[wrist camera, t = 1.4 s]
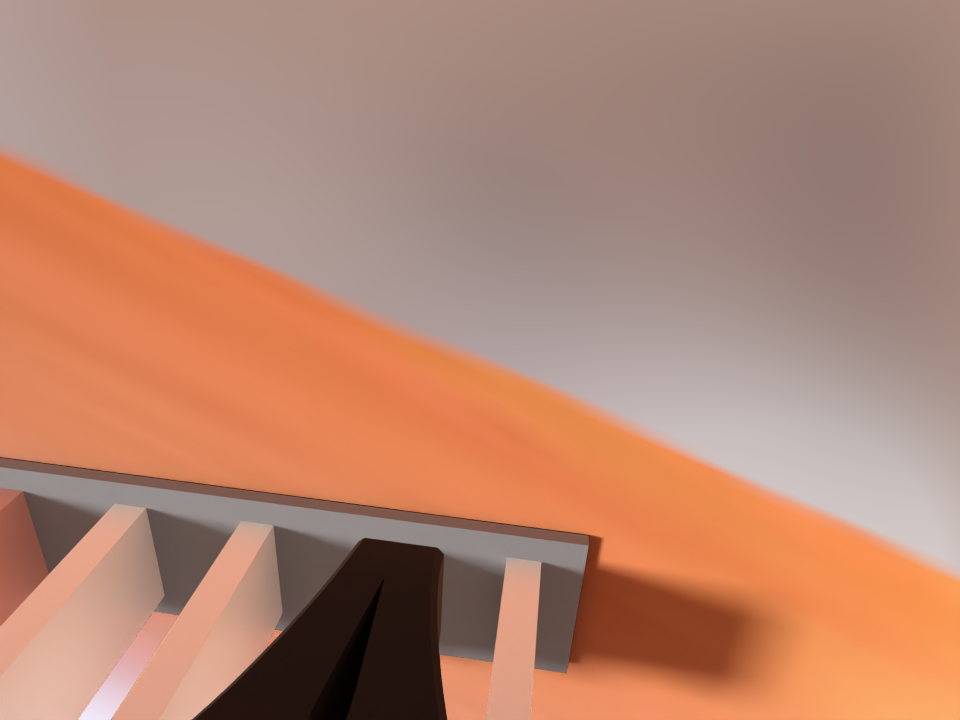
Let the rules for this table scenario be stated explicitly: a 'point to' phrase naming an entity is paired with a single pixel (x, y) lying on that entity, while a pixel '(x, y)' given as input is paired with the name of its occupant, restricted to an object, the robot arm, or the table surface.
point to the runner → (313, 547)
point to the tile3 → (213, 631)
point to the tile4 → (80, 620)
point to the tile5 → (17, 553)
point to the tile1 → (515, 643)
